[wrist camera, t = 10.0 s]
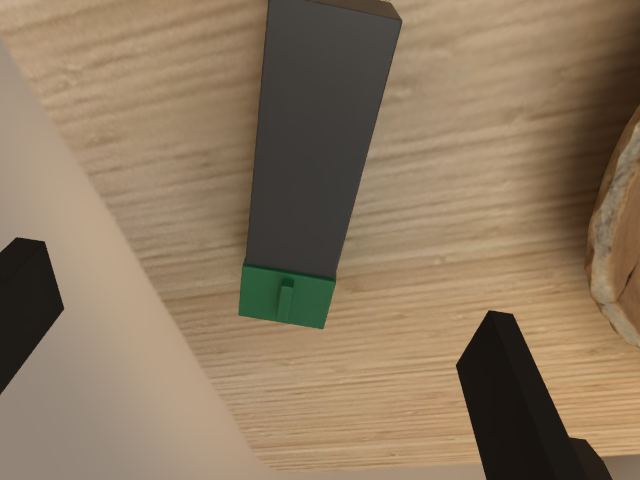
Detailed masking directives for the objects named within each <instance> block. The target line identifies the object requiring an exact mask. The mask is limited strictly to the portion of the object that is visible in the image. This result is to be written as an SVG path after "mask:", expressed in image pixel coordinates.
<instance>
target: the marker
mask: <svg viewBox="0 0 640 480" xmlns="http://www.w3.org/2000/svg"><path fill="white" fill-rule="evenodd" d="M401 25H402V19H401V18H400V16H399V15H398V13H397V12H396V10H395V9H394V7H393V6H392V4H391V3H388V2H383V1H378V0H268V12H267V23H266V34H265V46H264V57H263V68H262V80H261V91H260V102H259V114H258V125H257V137H256V148H255V159H254V171H253V182H252V193H251V205H250V216H249V228H248V239H247V250H246V257H245V260H244V263H243V266H242V277H241V289H240V301H239V313H238V315H239V316H245V317H251V318H258V319H264V320H270V321H276V322H282V323H288V324H294V325H300V326H307V327H313V328H319V329H323V328H324V325H325V321H326V317H327V314H328V310H329V306H330V303H331V299H332V295H333V291H334V288H335V284H336V270H337V266H338V263H339V259H340V255H341V251H342V247H343V244H344V240H345V236H346V232H347V229H348V225H349V221H350V217H351V214H352V210H353V206H354V202H355V198H356V195H357V191H358V187H359V183H360V180H361V176H362V172H363V168H364V165H365V161H366V157H367V153H368V149H369V146H370V142H371V138H372V134H373V131H374V127H375V123H376V119H377V116H378V112H379V108H380V104H381V100H382V97H383V93H384V89H385V85H386V82H387V78H388V74H389V70H390V67H391V63H392V59H393V55H394V51H395V48H396V44H397V40H398V36H399V33H400V29H401Z"/></svg>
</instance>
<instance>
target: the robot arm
mask: <svg viewBox="0 0 640 480" xmlns="http://www.w3.org/2000/svg"><path fill="white" fill-rule="evenodd" d="M63 310H64V306H63V303H62V299H61V296H60V292H59V289H58V285H57V282H56V279H55V275H54V272H53V269H52V265H51V261H50V258H49V255H48V251H47V248H46V244H45V242H44V241H38V240H31V239H25V238H18V237H17V238H15V239H14V240H13V241H12V242H11V243H10V244H9V245H8V246H7V247H6V248H5V249H3V250H2V251H1V252H0V394H1V393H2V392H3V390H4V389H5V388H6V386H7V385H8V384H9V382H10V381H11V379H12V378H13V377H14V375H15V374H16V373H17V372H18V370H19V369H20V368H21V366H22V365H23V363H24V362H25V361H26V360H27V358H28V357H29V355H30V354H31V353H32V351H33V350H34V349H35V347H36V346H37V345H38V343H39V342H40V341H41V339H42V338H43V336H44V335H45V334H46V332H47V331H48V330H49V329H50V327H51V326H52V325H53V323H54V322H55V321H56V319H57V318H58V317H59V315H60V314H61V312H62V311H63ZM456 368H457V371H458V375H459V379H460V383H461V386H462V390H463V394H464V398H465V401H466V405H467V409H468V413H469V416H470V420H471V424H472V427H473V431H474V435H475V439H476V442H477V446H478V450H479V454H480V457H481V461H482V465H483V468H484V472H485V476H486V480H612V478H611V476H610V474H609V472H608V470H607V468H606V466H605V464H604V462H603V461H602V459H601V458H600V457H599V456H598V454H597V453H596V452H595V451H594V450H593V448H592V447H591V446H590V445H589V444H588V442H587V441H586V440H584V439H577V438H570V437H569V436H568V434H567V432H566V430H565V427H564V425H563V423H562V421H561V419H560V416H559V414H558V412H557V410H556V408H555V405H554V403H553V401H552V399H551V397H550V394H549V392H548V390H547V388H546V386H545V383H544V381H543V379H542V377H541V375H540V373H539V370H538V368H537V366H536V364H535V362H534V359H533V357H532V355H531V353H530V351H529V348H528V346H527V344H526V342H525V340H524V337H523V335H522V333H521V331H520V329H519V326H518V324H517V322H516V320H515V318H514V315H513V314H510V313H503V312H497V311H490V310H489V311H488V313H487V314H486V316H485V318H484V319H483V321H482V323H481V324H480V326H479V328H478V329H477V331H476V333H475V334H474V336H473V338H472V339H471V341H470V343H469V344H468V346H467V348H466V349H465V351H464V353H463V354H462V356H461V358H460V359H459V361H458V363H457V364H456Z"/></svg>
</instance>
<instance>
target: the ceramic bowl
mask: <svg viewBox="0 0 640 480" xmlns="http://www.w3.org/2000/svg"><path fill="white" fill-rule="evenodd" d="M587 234H588V243H587V250H586V257H585V270H586V272H587V278H588V284H589V290H590V295H591V297H592V298H593V299H594V301H595V302H596V304H597V306H598V308H599V310H600V312H601V314H602V315H603V316H604V317H606V318H607V319H608V320H609V322H610V324H611V326H612V328H613V330H614V331H615V332H616V333H617V334H618V335H619V336H620V337H621V338H622V339H623V340H624V341H625V342H626V343H629V344H631V345H634V346H636V347H638V348H640V105H639V106H638V108H637V109H636V111H635V113H634V114H633V116H632V117H631V119H630V121H629V122H628V124H627V126H626V127H625V129H624V131H623V132H622V134H621V136H620V139H619V141H618V143H617V145H616V147H615V150H614V152H613V154H612V156H611V159H610V161H609V164H608V167H607V169H606V172H605V174H604V177H603V180H602V183H601V187H600V191H599V194H598V198H597V201H596V204H595V207H594V210H593V213H592V216H591V220H590V224H589V229H588V233H587Z"/></svg>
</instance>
